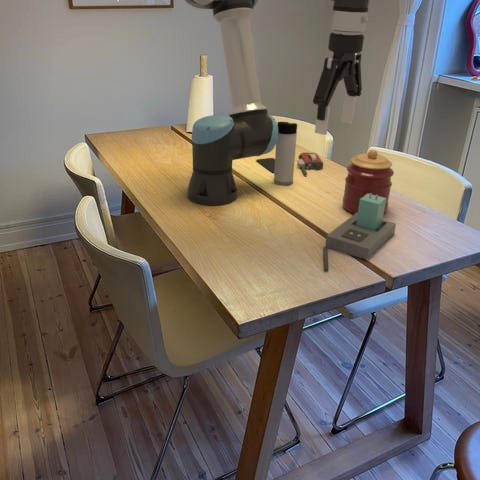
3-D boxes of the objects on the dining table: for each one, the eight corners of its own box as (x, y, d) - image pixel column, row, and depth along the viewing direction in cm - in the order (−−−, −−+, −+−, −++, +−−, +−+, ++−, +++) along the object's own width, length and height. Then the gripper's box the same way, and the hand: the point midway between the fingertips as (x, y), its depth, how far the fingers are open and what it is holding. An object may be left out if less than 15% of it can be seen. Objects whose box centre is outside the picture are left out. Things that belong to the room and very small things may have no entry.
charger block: (372, 240, 125) (379, 199, 120) (354, 234, 128) (360, 194, 123) (380, 233, 129) (387, 193, 124) (362, 228, 132) (368, 189, 126)
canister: (354, 219, 137) (363, 158, 128) (334, 201, 148) (341, 144, 140) (395, 215, 140) (406, 155, 132) (373, 198, 151) (382, 142, 143)
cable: (328, 272, 111) (328, 268, 110) (323, 271, 111) (324, 267, 110) (327, 249, 120) (327, 245, 120) (323, 248, 120) (323, 245, 120)
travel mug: (270, 183, 160) (273, 122, 151) (278, 177, 165) (282, 118, 156) (288, 187, 157) (292, 125, 148) (295, 180, 163) (300, 120, 153)
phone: (273, 172, 168) (254, 159, 180) (272, 175, 169) (254, 161, 181) (292, 170, 171) (273, 157, 183) (291, 172, 171) (272, 159, 183)
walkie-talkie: (293, 159, 184) (302, 177, 167) (294, 148, 182) (303, 165, 165) (316, 159, 185) (327, 177, 167) (317, 148, 183) (329, 165, 165)
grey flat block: (367, 260, 116) (369, 247, 114) (325, 246, 121) (326, 234, 120) (394, 233, 129) (396, 221, 127) (355, 222, 135) (356, 211, 133)
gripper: (336, 38, 97) (323, 142, 107) (385, 31, 115) (369, 121, 125) (303, 34, 101) (293, 135, 111) (355, 27, 119) (343, 115, 129)
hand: (334, 127), depth 118 cm, fingers open, 13 cm apart
